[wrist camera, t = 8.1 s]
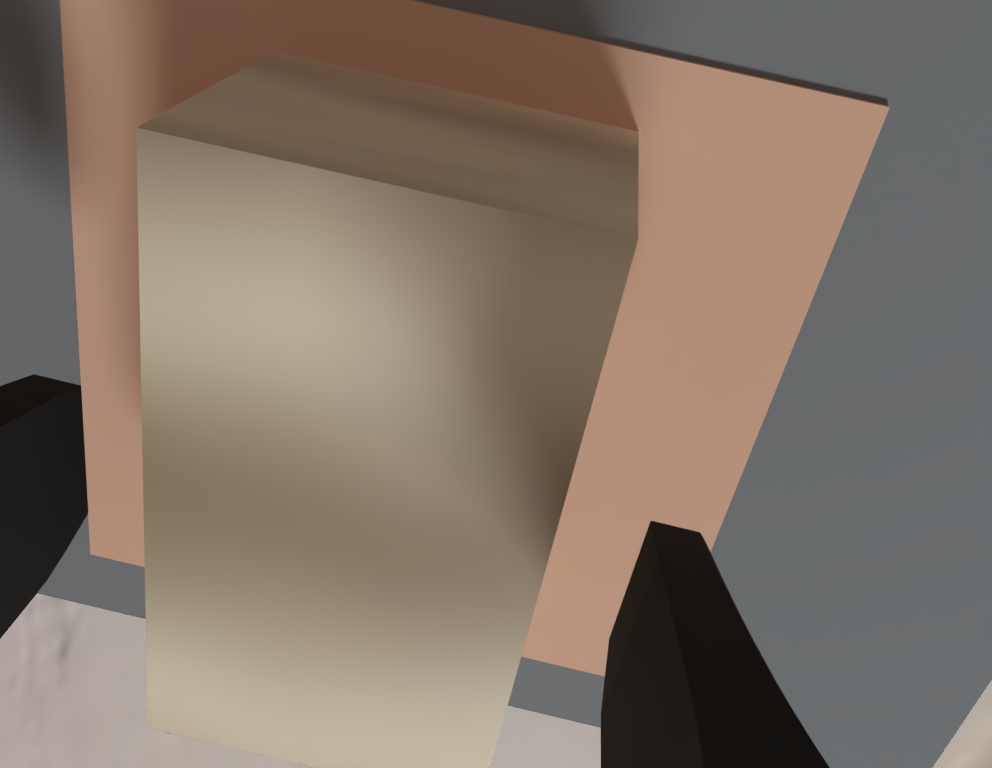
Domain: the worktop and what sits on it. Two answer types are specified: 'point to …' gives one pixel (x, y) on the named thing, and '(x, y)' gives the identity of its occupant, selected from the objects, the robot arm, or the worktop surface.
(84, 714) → the worktop surface
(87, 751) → the worktop surface
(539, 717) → the worktop surface
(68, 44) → the mat
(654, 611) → the robot arm
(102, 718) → the worktop surface
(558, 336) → the card box
